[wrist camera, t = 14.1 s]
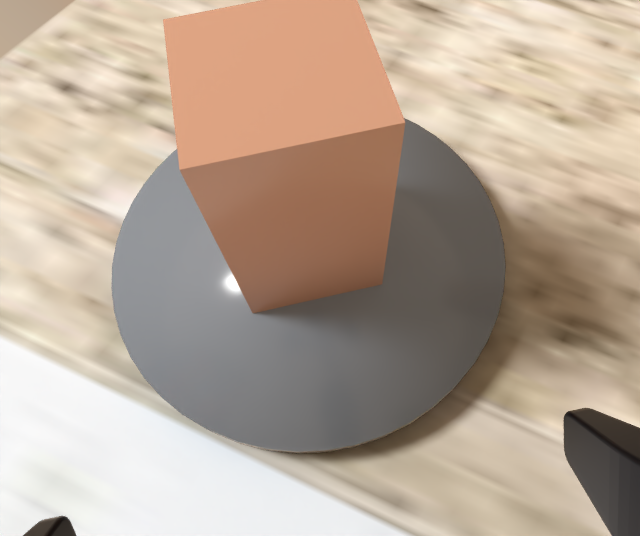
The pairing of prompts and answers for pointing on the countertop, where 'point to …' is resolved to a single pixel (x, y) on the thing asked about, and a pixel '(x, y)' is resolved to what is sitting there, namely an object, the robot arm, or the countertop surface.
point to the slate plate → (313, 314)
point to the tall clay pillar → (287, 144)
